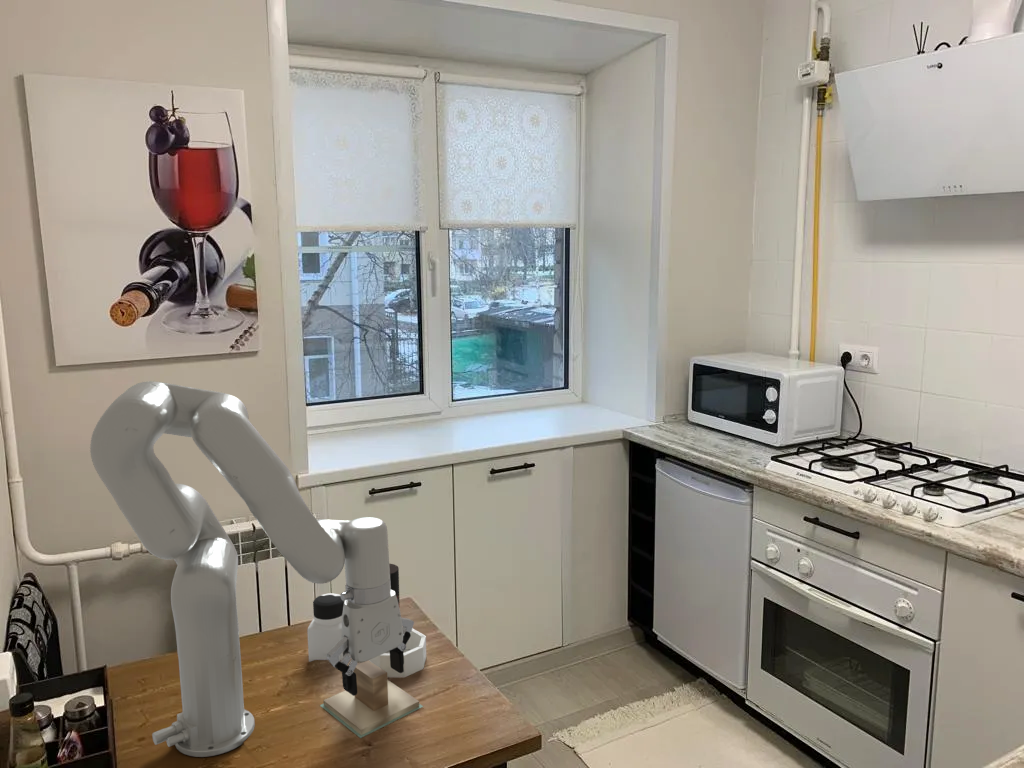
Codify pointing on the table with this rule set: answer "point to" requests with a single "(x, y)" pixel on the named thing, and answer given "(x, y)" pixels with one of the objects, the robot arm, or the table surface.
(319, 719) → the table surface
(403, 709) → the lid
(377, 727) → the mat
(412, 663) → the bowl
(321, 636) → the medicine bottle
